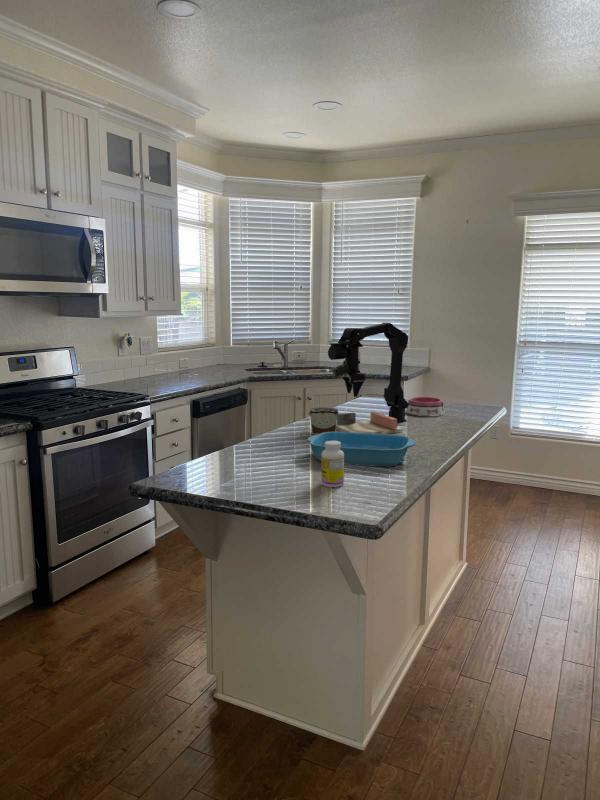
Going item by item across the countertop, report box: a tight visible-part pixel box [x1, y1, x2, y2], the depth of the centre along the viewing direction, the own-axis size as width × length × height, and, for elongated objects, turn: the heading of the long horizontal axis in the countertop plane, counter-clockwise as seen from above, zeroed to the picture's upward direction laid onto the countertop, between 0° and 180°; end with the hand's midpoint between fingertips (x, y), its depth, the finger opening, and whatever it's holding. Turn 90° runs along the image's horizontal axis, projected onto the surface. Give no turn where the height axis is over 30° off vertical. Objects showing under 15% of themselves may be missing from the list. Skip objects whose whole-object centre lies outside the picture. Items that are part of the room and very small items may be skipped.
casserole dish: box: [306, 431, 416, 467], centre depth 203 cm, size 37×22×7 cm, turn 73°
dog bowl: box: [405, 396, 446, 417], centre depth 284 cm, size 18×19×7 cm
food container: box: [308, 407, 340, 435], centre depth 243 cm, size 12×6×10 cm, turn 84°
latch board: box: [336, 412, 403, 435], centre depth 247 cm, size 22×20×6 cm
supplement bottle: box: [320, 441, 345, 488], centre depth 174 cm, size 7×7×13 cm
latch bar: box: [369, 411, 398, 429], centre depth 249 cm, size 17×3×4 cm, turn 25°
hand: (352, 394), depth 251 cm, fingers open, 9 cm apart
